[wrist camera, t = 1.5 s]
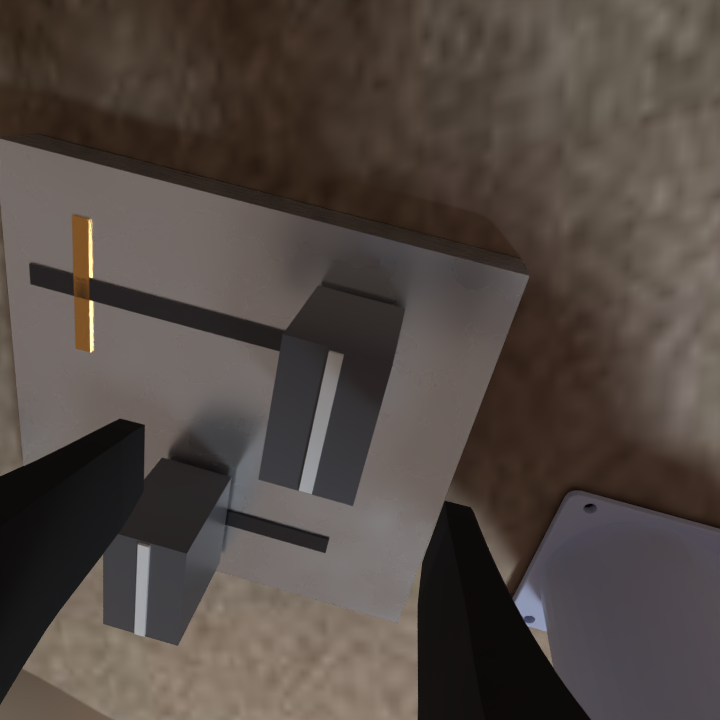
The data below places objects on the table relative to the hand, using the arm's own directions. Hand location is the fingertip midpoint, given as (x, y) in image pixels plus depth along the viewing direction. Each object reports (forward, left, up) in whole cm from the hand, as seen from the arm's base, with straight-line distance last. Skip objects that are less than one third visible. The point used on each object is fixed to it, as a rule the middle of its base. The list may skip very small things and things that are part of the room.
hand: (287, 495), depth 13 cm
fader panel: (+4, +4, -10) cm, 11 cm away
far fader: (+5, +9, -7) cm, 13 cm away
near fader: (0, 0, -7) cm, 7 cm away
